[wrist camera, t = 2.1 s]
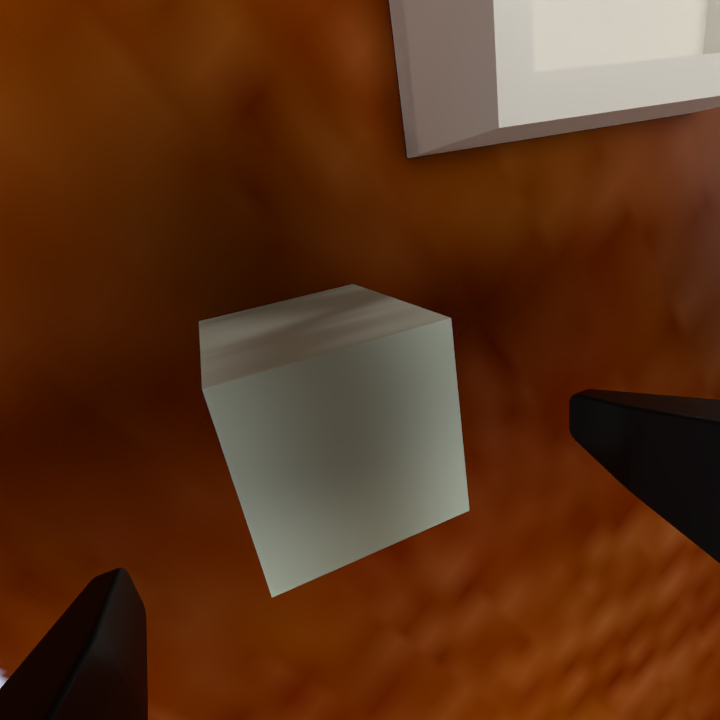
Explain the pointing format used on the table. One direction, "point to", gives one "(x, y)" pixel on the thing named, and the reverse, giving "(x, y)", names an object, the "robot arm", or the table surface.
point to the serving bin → (548, 66)
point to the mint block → (335, 425)
